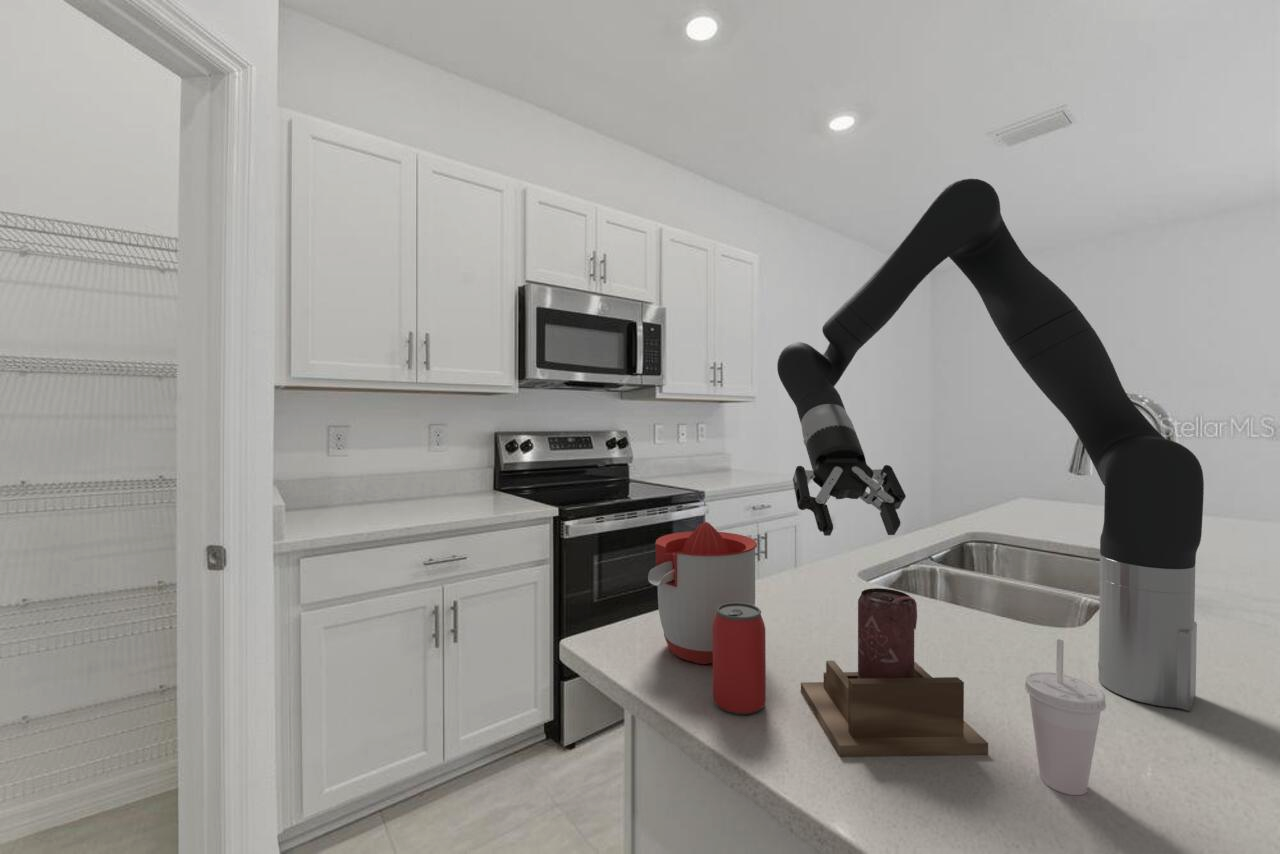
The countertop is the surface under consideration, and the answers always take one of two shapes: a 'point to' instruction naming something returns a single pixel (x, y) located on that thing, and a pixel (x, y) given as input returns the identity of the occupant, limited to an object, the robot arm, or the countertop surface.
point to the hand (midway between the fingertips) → (861, 532)
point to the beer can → (739, 658)
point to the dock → (892, 714)
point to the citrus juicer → (700, 585)
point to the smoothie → (1064, 726)
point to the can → (886, 634)
